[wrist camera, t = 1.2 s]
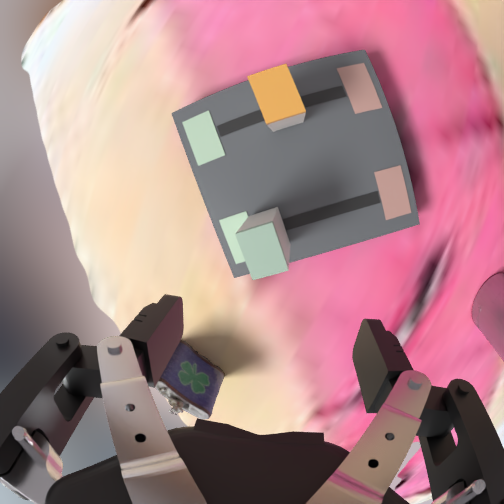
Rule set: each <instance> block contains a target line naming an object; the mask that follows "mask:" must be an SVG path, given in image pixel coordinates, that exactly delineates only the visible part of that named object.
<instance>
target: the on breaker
mask: <svg viewBox="0 0 504 504" xmlns="http://www.w3.org/2000/svg"><path fill="white" fill-rule="evenodd" d="M235 235H236V238H237V241H238V243H239V246H240V249H241V251H242V254H243V256H244V259H245V262H246V264H247V267H248V269H249V272H250V275H251V277H252V280H255V279H259V278H263V277H267V276H270V275H274V274H278V273H281V272H285V271H288V270H289V258H290V242H289V239H288V236H287V233H286V230H285V227H284V224H283V221H282V218H281V215H280V212H279V209H278V207H276V208H272V209H269V210H266V211H263V212H260V213H257V214H254V215H251V216H249V217H248V218H247V219H246V221H245V222H244V223H243V224H242V226H241V227H240V228H239V230H238V231H237V232H236V234H235Z"/></svg>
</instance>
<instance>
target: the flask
mask: <svg viewBox="0 0 504 504" xmlns="http://www.w3.org/2000/svg"><path fill="white" fill-rule="evenodd" d="M223 379H224V373H223V371H222V370H221V369H220V368H219V367H218V366H215V365H214V364H212V363H211V362H210V361H209V360H208V359H207V358H205V357H204V356H201V355H199V354H198V352H197V351H194V350H193V348H192V347H191V346H189V345H188V344H187V343H186V342H185V341H181V340H180V342H179V344H178V346H177V348H176V349H175V351H174V353H173V355H172V357H171V359H170V360H169V362H168V364H167V366H166V368H165V370H164V372H163V373H162V375H161V377H160V379H159V381H158V383H157V384H156V386H155V388H156V389H157V390H158V391H159V393H160V394H162V395H163V396H164V397H166V398H167V399H168V400H169V401H168V402H169V404H170V405H171V406H173V408H172V409H171V410H172V411H174V412H176V413H180V412H183V410H184V411H186V412H188V413H190V414H192V415H194V416H196V417H198V418H200V419H209V418H210V416H211V414H212V409H213V406H214V403H215V401H216V397H217V395H218V392H219V389H220V386H221V384H222V381H223ZM171 410H169V412H170V413H172V414H174V413H173V412H172V411H171ZM176 413H175V415H177V414H176Z"/></svg>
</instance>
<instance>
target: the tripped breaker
mask: <svg viewBox="0 0 504 504" xmlns="http://www.w3.org/2000/svg"><path fill="white" fill-rule="evenodd" d="M247 77H248V80H249V82H250V85H251V87H252V89H253V92H254V94H255V97H256V99H257V102H258V104H259V107H260V109H261V112H262V115H263V117H264V120H265V122H266V124H267V125H268V127H269V128H270V129H271V130H272V131H273V132H274V131H277V130H280V129H284V128H287V127H290V126H293V125H296V124H299V123H303V122H304V118H305V113H306V110H305V107H304V105H303V102H302V100H301V97H300V95H299V93H298V90H297V88H296V85H295V83H294V81H293V78H292V76H291V74H290V71H289V69H288V67H287V65H286V64H283V65H280V66H277V67H274V68H271V69H268V70H264V71H262V72H259V73H256V74H253V75H250V76H247Z"/></svg>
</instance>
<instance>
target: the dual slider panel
mask: <svg viewBox="0 0 504 504" xmlns="http://www.w3.org/2000/svg"><path fill="white" fill-rule="evenodd" d="M288 69H289V71H290V74H291V76H292V78H293V81H294V83H295V85H296V88H297V90H298V93H299V95H300V97H301V100H302V102H303V105H304V107H305V110H306V113H305V118H304V122H303V123H299V124H296V125H293V126H290V127H287V128H284V129H280V130H277V131H274V132H273V131H272V130H271V129H270V128H269V127H268V125H267V124H266V122H265V120H264V117H263V115H262V112H261V109H260V107H259V104H258V102H257V99H256V97H255V94H254V92H253V89H252V87H251V85H250V82H249V80H248V81H245V82H242V83H239V84H237V85H234V86H232V87H229V88H227V89H224V90H222V91H219V92H217V93H215V94H212V95H210V96H208V97H205V98H203V99H201V100H199V101H196V102H194V103H192V104H190V105H188V106H186V107H184V108H182V109H180V110H177V111H175V112H173V113H172V116H173V119H174V122H175V124H176V127H177V130H178V133H179V135H180V138H181V141H182V144H183V146H184V149H185V152H186V155H187V157H188V160H189V163H190V165H191V168H192V171H193V173H194V176H195V179H196V181H197V184H198V187H199V189H200V192H201V195H202V197H203V200H204V202H205V205H206V208H207V210H208V213H209V215H210V218H211V221H212V223H213V226H214V228H215V231H216V233H217V236H218V238H219V241H220V243H221V246H222V249H223V251H224V254H225V256H226V259H227V261H228V264H229V266H230V268H231V271H232V273H233V276H234V278H236V277H239V276H243V275H247V274H250V272H249V269H248V267H247V264H246V262H245V259H244V256H243V254H242V251H241V249H240V246H239V243H238V241H237V238H236V235H235V234H236V232H237V231H238V230H239V228H240V227H241V226H242V224H243V223H244V222H245V221H246V219H247V218H248V217H249V216H251V215H254V214H257V213H260V212H263V211H266V210H269V209H272V208H276V207H278V209H279V212H280V215H281V218H282V221H283V224H284V227H285V230H286V233H287V236H288V239H289V242H290V258H289V263H290V262H294V261H297V260H301V259H304V258H308V257H311V256H315V255H318V254H322V253H325V252H329V251H332V250H335V249H339V248H342V247H346V246H349V245H352V244H356V243H359V242H363V241H366V240H369V239H373V238H376V237H379V236H383V235H386V234H389V233H392V232H396V231H399V230H402V229H405V228H409V227H412V226H415V225H418V224H420V223H419V217H418V212H417V206H416V201H415V196H414V192H413V187H412V183H411V178H410V174H409V170H408V166H407V163H406V159H405V155H404V152H403V148H402V145H401V141H400V138H399V135H398V132H397V128H396V125H395V122H394V119H393V117H392V114H391V111H390V108H389V105H388V103H387V100H386V97H385V95H384V92H383V90H382V87H381V85H380V82H379V80H378V78H377V75H376V73H375V71H374V68H373V66H372V64H371V62H370V59H369V57H368V55H367V53H366V51H365V50H359V51H354V52H348V53H343V54H338V55H334V56H329V57H325V58H320V59H316V60H312V61H308V62H305V63H301V64H297V65H294V66H290V67H288Z"/></svg>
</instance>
